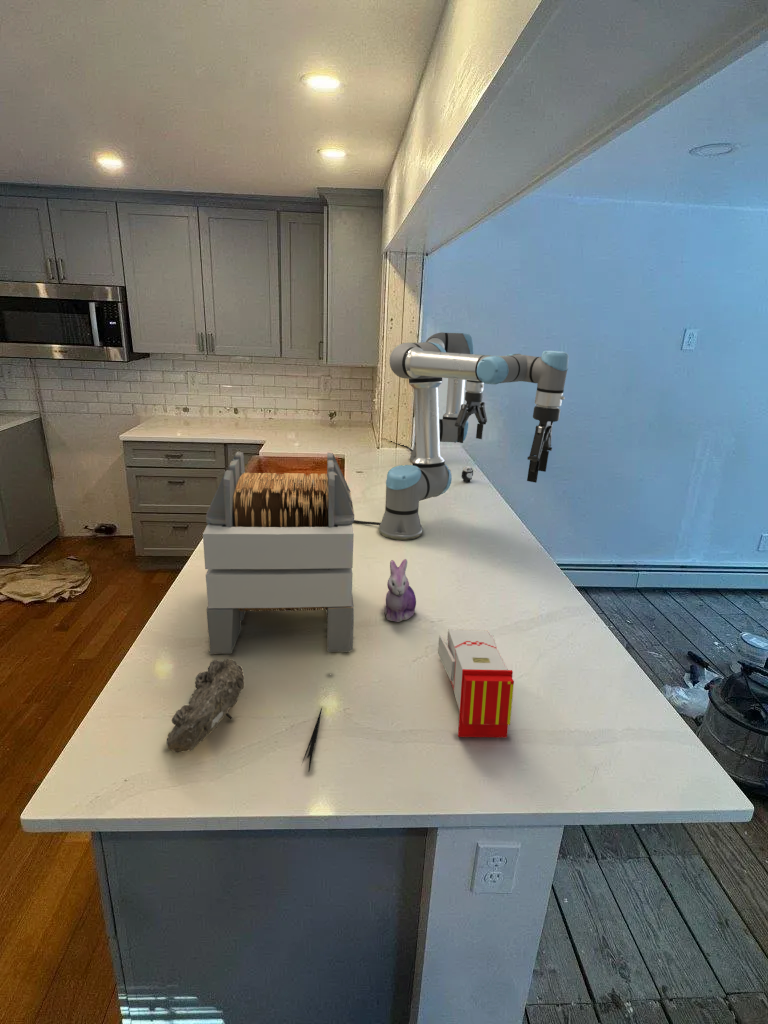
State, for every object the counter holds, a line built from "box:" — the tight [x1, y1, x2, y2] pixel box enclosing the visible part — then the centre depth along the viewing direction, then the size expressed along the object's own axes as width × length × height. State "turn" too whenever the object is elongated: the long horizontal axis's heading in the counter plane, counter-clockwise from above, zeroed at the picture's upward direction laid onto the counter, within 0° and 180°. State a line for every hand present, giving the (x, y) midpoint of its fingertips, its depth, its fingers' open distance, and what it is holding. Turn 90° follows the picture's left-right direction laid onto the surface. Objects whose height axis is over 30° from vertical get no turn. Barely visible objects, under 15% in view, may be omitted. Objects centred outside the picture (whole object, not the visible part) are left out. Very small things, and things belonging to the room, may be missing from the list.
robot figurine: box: [461, 465, 474, 483], centre depth 263 cm, size 6×5×8 cm
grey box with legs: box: [202, 451, 355, 655], centre depth 137 cm, size 34×33×41 cm
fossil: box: [166, 658, 245, 754], centre depth 106 cm, size 22×10×15 cm
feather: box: [301, 673, 332, 771], centre depth 108 cm, size 2×28×2 cm
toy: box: [437, 628, 515, 738], centre depth 117 cm, size 12×13×30 cm
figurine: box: [384, 558, 417, 623], centre depth 145 cm, size 9×10×15 cm
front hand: (536, 476), depth 172 cm, fingers open, 13 cm apart
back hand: (469, 440), depth 250 cm, fingers open, 13 cm apart
